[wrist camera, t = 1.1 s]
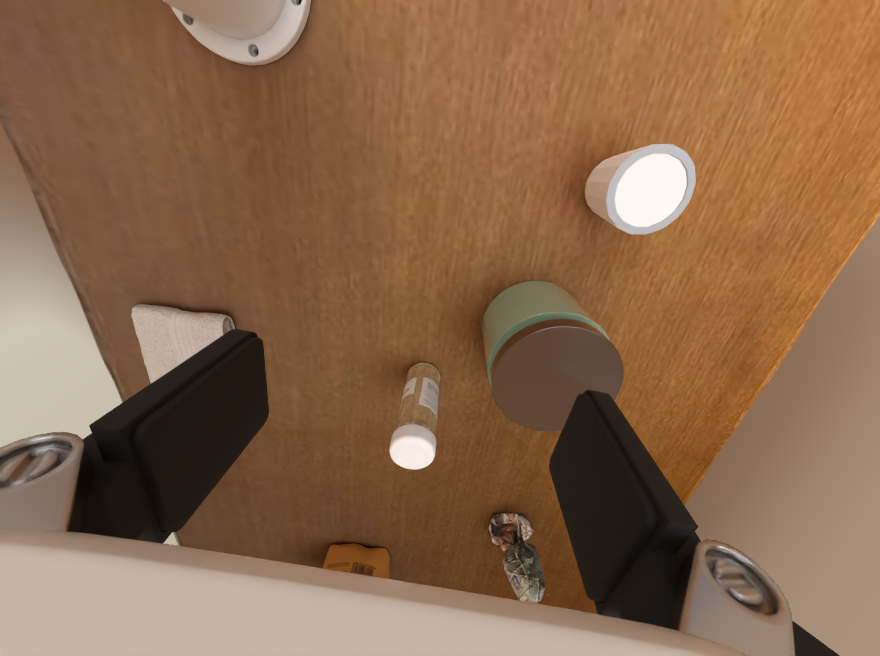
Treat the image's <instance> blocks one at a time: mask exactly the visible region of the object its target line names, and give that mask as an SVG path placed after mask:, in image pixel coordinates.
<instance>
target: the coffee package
mask: <svg viewBox="0 0 880 656" xmlns="http://www.w3.org/2000/svg"><path fill="white" fill-rule="evenodd" d="M389 564H390V556H389V554H388V551H387V549H386V548H366V547H364V546H362V545H360V544H355V543H350V544H341V545H331V546H330V548H329V550H328V553H327V556H326V559H325V561H324V564H323V567H322V568H323V569H329V570H335V571H341V572H348V573H354V574H360V575H366V576H372V577H379V578H385V579H389Z"/></svg>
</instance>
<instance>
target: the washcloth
mask: <svg viewBox="0 0 880 656" xmlns="http://www.w3.org/2000/svg"><path fill="white" fill-rule="evenodd" d="M131 317H132V319H133V322H134V324H133V325H134V326H135V330H136V333H137V334H136V335H137V336H138V339H139V340H140V341H139V343H140V345H141V346H140V347H141V350H142V354H143V358H144V362H145V365H146V367H147V373H148V375H149V379H150V381H151V383H153V382H154V381H156V380H157V379H159V378H160V377H162V376H163V375H165V374H166V373H168V372H169V371H171V370H172V369H174V368H175V367H177V366H178V365H179V364H181V363H182V362H184V361H185V360H187V359H188V358H190V357H191V356H193V355H194V354H196V353H197V352H199V351H200V350H202V349H203V348H205V347H206V346H208V345H209V344H211V343H212V342H214V341H215V340H217V339H218V338H219V337H221V336H222V335H224V334H225V333H227V332H228V331H230V330H232V329H235V326H234V323H233V320H232V318H231V317H229V316H227V315H223V314H216V313H210V312H203V313H200V312H198V313H194V312H188V311H182V310H180V309H178V308H170V307H163V306H156V305H145V304H140V305H136V306H134V308H133V309H132V314H131Z"/></svg>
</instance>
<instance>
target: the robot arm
mask: <svg viewBox="0 0 880 656" xmlns="http://www.w3.org/2000/svg"><path fill="white" fill-rule="evenodd" d="M162 1H163V2H165V3H167V4H169V5H170V7H171V8H172V10H173V12H174V14H175V15H176V16H177V18H178V19H179V20H180V22H181V23H182V24H183V26H184V27H185V28H186V29H187V31H188V32H190V33H191V34H192V35H193V36H194V37H195V38H196V39H197V40H198V41H199V42H200V43H201V44H202V45H204V46H205V47H207V48H208V49H209V50H211V51H212V52H214V53H216V54H218V55H219V56H221V57H223V58H225V59H228V60H231V61H233V62H236V63H239V64H244V65H251V66H254V65H264V64H268V63H270V62H273V61H276V60H278V59H279V58H281V57H282V56H284V55H285V54H286V53H288V52H289V51H290V49H291V48H292V47H293V46H294V45H295V44H296V42H297V41H298V39H299V37H300V35H301V34H302V32H303V30H304V28H305V25H306V22H307V18H308V15H309V12H310V5H311V0H302V2H301V4H300V5H298V2H299V0H162ZM257 51H258V52H259V53H258V56H257ZM268 414H269V407H268V395H267V383H266V372H265V360H264V348H263V341H262V339H260V338H258V336H257V334H256V333H254V332H249V331H244V330H238V329H232V330H230V331H228V332H227V333H225V334H224V335H222V336H221V337H219V338H218V339H217V340H215V341H214V342H212V343H211V344H209V345H208V346H206V347H205V348H203V349H202V350H200V351H199V352H197V353H196V354H194V355H193V356H191V357H190V358H188V359H187V360H185V361H184V362H182V363H181V364H179V365H178V366H177V367H175V368H174V369H172V370H171V371H169V372H168V373H166V374H165V375H163V376H162V377H160V378H159V379H157V380H156V381H154V382H153V383H151V384H150V385H148V386H147V387H145V388H144V389H142V390H141V391H140V392H138V393H137V394H135V395H134V396H132V397H131V398H129V399H128V400H126V401H125V402H123V403H122V404H120V405H119V406H117V407H116V408H114V409H113V410H112V411H110V412H109V413H107V414H105V415H104V416H103V417H101V418H100V419H98V420H97V421H95V422H94V423H92V424H91V425H90V429H91V431H92V434H90V435H89V436H87V437H86V438H85V439H81V438H80V437H79V436H78V435H75V434H71V433H67V432H66V433H65V432H61V433H60V432H57V433H56V432H55V433H54V432H53V433H47V434H40V435H35V436H32V437H28V438H25V439H21V440H18V441H15V442H13V443H10V444H8V445H6V446H4V447H1V448H0V656H839V655H838V654H837V653H835V652H834V651H833V650H831V649H830V648H828V647H827V646H826V645H824V644H823V643H822V642H820V641H819V640H818V639H816V638H815V637H814V636H812V635H811V634H810V633H808V632H806V630H804V629H803V628H802V627H800V626H799V625H797V624H796V623H795V622H793V621H792V613H791V610H790V607H789V604H788V601H787V599H786V597H785V596H784V594H783V592H782V591H781V589H780V587H779V586H778V585H777V584H776V583H775V581H774V580H773V579H772V578H771V577H770V575H769V574H768V573H767V572H766V571H765V570H763V569H762V568H761V567H760V566H759V565H758V564H757V563H756V562H755V561H753V560H752V559H751V558H749V557H748V556H747V555H745V554H744V553H742V552H741V551H739V550H737V549H735V548H734V547H732V546H730V545H728V544H726V543H723V542H720V541H717V540H707V539H706V540H703V541H700V539H699V537H698V536H697V534H696V533H695V530H696V529H697V528H698V526H697V524H696V523H695V521H694V520H693V518H692V517H691V515H690V514H689V512H688V511H687V509H686V508H685V506H684V505H683V503H682V502H681V500H680V499H679V497H678V496H677V494H676V493H675V491H674V490H673V488H672V487H671V485H670V484H669V482H668V481H667V479H666V478H665V476H664V475H663V473H662V472H661V470H660V469H659V467H658V466H657V464H656V463H655V461H654V460H653V459H652V457H651V456H650V454H649V453H648V451H647V450H646V448H645V447H644V445H643V444H642V442H641V441H640V439H639V438H638V436H637V435H636V433H635V432H634V430H633V429H632V427H631V426H630V424H629V423H628V421H627V420H626V418H625V417H624V415H623V414H622V412H621V411H620V409H619V408H618V406H617V405H616V403H615V402H614V400H613V399H612V397H611V396H610V395H609V394H608V393H604V392H598V391H592V390H586V391H585V392H584V393H583V394H579V395H578V396H577V398H576V400H575V402H574V405H573V407H572V409H571V412H570V414H569V416H568V419H567V421H566V423H565V426H564V428H563V430H562V433H561V435H560V437H559V440H558V442H557V444H556V447H555V449H554V451H553V454H552V456H551V458H550V464H549V468H550V473H551V476H552V480H553V483H554V487H555V490H556V493H557V497H558V500H559V503H560V507H561V510H562V514H563V517H564V520H565V524H566V527H567V530H568V534H569V537H570V541H571V544H572V547H573V551H574V554H575V557H576V561H577V564H578V568H579V571H580V574H581V578H582V581H583V584H584V588H585V591H586V594H587V595H588V597H589V598H590V599H591V600H594V603H595V606H596V609H597V612H598V614H593V613H588V612H583V611H577V610H572V609H566V608H560V607H554V606H548V605H542V604H536V603H530V602H524V601H518V600H512V599H506V598H500V597H494V596H488V595H482V594H476V593H470V592H464V591H458V590H452V589H446V588H440V587H434V586H428V585H422V584H415V583H409V582H403V581H397V580H391V579H385V578H379V577H372V576H366V575H360V574H354V573H348V572H341V571H335V570H329V569H323V568H316V567H310V566H304V565H298V564H291V563H285V562H278V561H272V560H266V559H259V558H253V557H246V556H240V555H234V554H227V553H221V552H214V551H208V550H201V549H195V548H189V547H182V546H175V545H169V544H163V543H164V542H165V540H166V539H167V538H168V536H169V535H170V534H171V533H172V532H176V531H178V530H180V529H181V528H182V527H183V526H184V525H185V524H186V522H187V521H188V520H189V518H190V517H191V516H192V515H193V513H194V512H195V511H196V510H197V508H198V507H199V506H200V505H201V503H202V502H203V501H204V499H205V498H206V497H207V496H208V494H209V493H210V492H211V491H212V489H213V488H214V487H215V486H216V484H217V483H218V482H219V480H220V479H221V478H222V477H223V475H224V474H225V473H226V472H227V470H228V469H229V468H230V467H231V465H232V464H233V463H234V462H235V460H236V459H237V458H238V456H239V455H240V454H241V453H242V451H243V450H244V449H245V448H246V446H247V445H248V444H249V443H250V441H251V440H252V439H253V437H254V436H255V435H256V434H257V432H258V431H259V430H260V429H261V427H262V426H263V425H264V423H265V422H266V420H267V417H268Z"/></svg>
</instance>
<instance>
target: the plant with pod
mask: <svg viewBox="0 0 880 656" xmlns="http://www.w3.org/2000/svg"><path fill="white" fill-rule="evenodd" d="M490 521H491V522H490V525H489V528H488V529H489V531H490V535H492V536H491V537H490V538H491V539H492V543H494V544H495V545H497V546H498V547H500V548H501V549H502V550H503V551H504V556H503V563H504V565H505V566H504V570H505V573H506V574H507V576H508V578H509V582H510V583H511V585H512V587H513V590H514V591H515V593H516V595H517V596H518V598H519V600H520V601H524V602H530V603H536V602H539V601H541V599H542V597H543V596H544V591H545V584H544V574H543V569H542V566H541V564H540V561H539V557H538V554H537V551H536V548H535V546H533V545H532V544H530V543H527V542H526V540H527V539H528V538H529V537H530V536H529V535H532V534H530V533H531V532H533V529H532V528H531V526H530V523H529V522H528V520H527V519H526V518H525V516H523V515H521V514H520V515H519V514H514V513H512V514H511V515H510V514H509V513H508V514H507V513H506V514H505V513H504V514H503V513H502V514H501V513H500V514H497V515H495V516H493V518H492V519H491V520H490ZM547 596H549V595H548V594H547Z"/></svg>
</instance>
